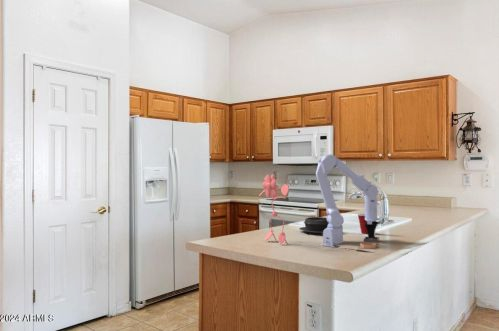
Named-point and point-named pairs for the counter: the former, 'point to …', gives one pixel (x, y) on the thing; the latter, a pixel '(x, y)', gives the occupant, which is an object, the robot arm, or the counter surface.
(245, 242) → the counter surface
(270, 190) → the figurine
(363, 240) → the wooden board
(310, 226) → the casserole
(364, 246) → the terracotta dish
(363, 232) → the plastic cup
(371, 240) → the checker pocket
